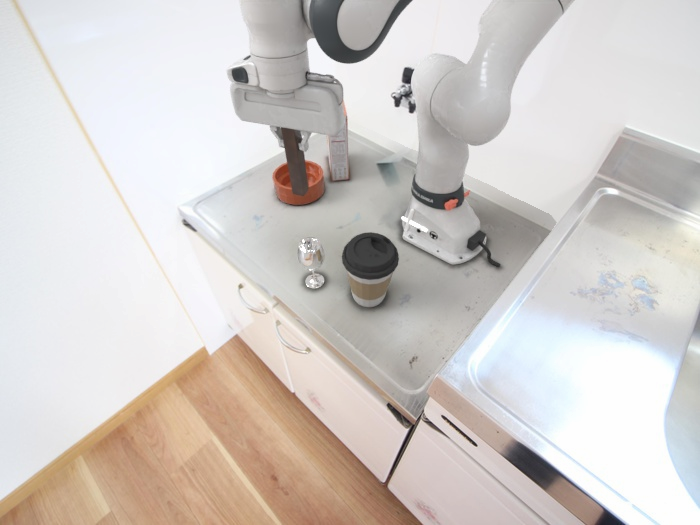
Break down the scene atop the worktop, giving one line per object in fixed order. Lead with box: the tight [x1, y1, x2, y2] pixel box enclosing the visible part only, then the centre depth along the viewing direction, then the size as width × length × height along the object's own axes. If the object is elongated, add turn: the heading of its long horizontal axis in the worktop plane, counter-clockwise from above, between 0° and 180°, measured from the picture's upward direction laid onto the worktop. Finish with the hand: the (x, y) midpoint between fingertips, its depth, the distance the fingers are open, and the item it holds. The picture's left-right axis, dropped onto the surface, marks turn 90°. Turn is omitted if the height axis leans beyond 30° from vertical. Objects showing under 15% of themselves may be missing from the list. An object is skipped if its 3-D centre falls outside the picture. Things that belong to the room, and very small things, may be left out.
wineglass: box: [297, 236, 326, 290], centre depth 75 cm, size 6×6×12 cm
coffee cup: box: [341, 232, 400, 308], centre depth 71 cm, size 11×11×15 cm
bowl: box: [271, 159, 325, 206], centre depth 101 cm, size 15×15×6 cm
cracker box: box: [326, 99, 350, 182], centre depth 103 cm, size 14×6×21 cm, turn 6°
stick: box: [281, 127, 309, 196], centre depth 66 cm, size 3×3×16 cm
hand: (294, 148), depth 65 cm, fingers closed on stick, 2 cm apart
